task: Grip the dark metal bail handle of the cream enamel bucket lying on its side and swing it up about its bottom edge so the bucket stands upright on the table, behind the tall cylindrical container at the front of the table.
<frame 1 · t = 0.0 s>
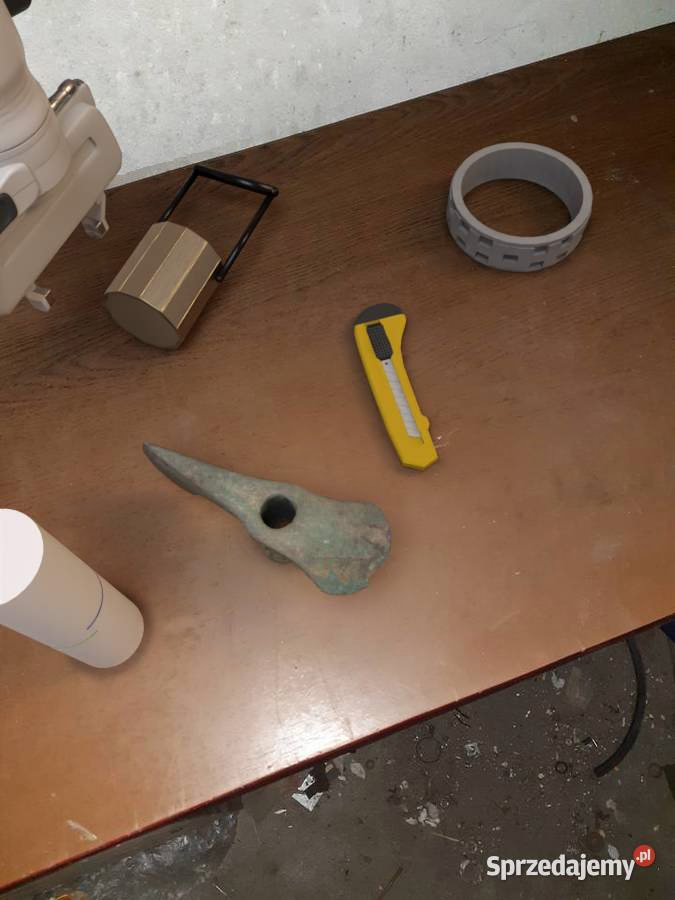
hand: (72, 267, 66), 19 cm above the table, tool pointing down, fingers open, 8 cm apart
cylindrical container: (109, 631, 70), on the table
axe head: (267, 534, 74), on the table
bucket: (141, 322, 80), point 5 cm above the table
utility knife: (399, 387, 82), on the table
ring: (513, 221, 93), on the table
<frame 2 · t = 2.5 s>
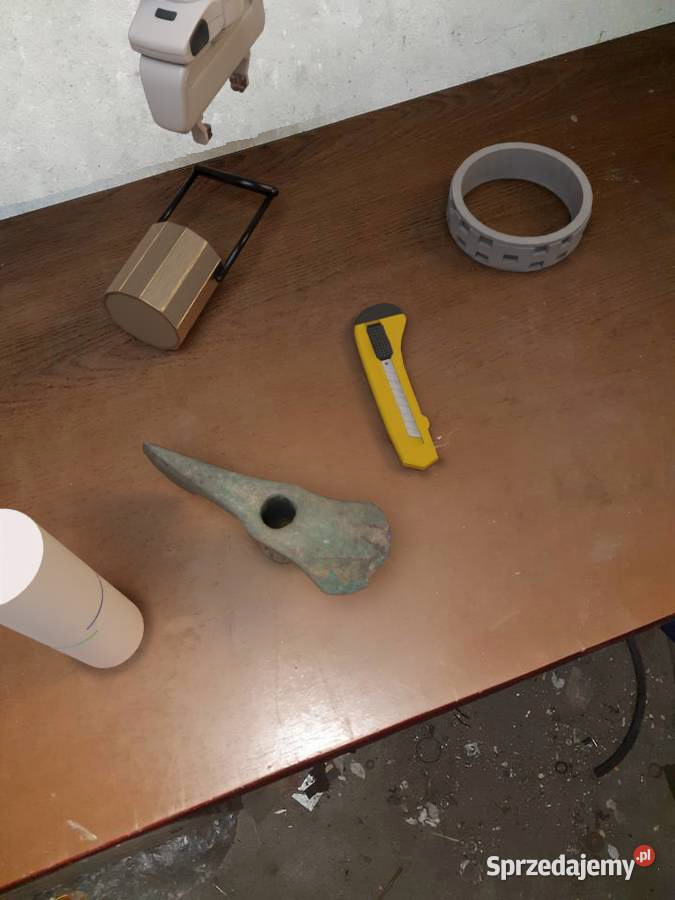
hand: (222, 113, 81), 15 cm above the table, tool pointing down, fingers open, 8 cm apart
nothing on the table moved.
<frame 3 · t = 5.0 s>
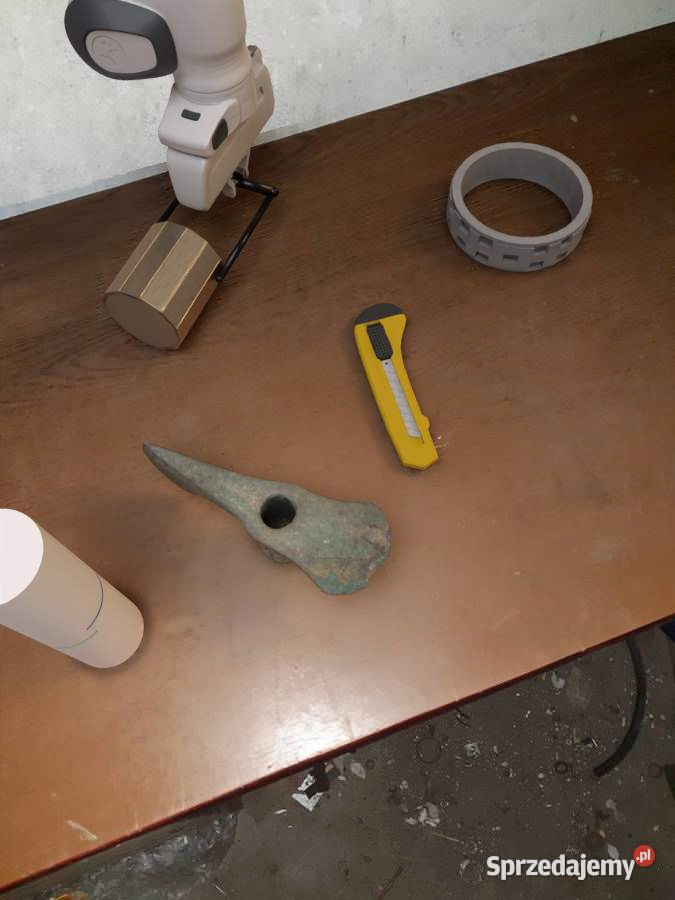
hand: (236, 186, 91), 4 cm above the table, tool pointing down, fingers closed on bucket
bucket: (141, 321, 80), point 5 cm above the table, touching gripper
everything else where it was.
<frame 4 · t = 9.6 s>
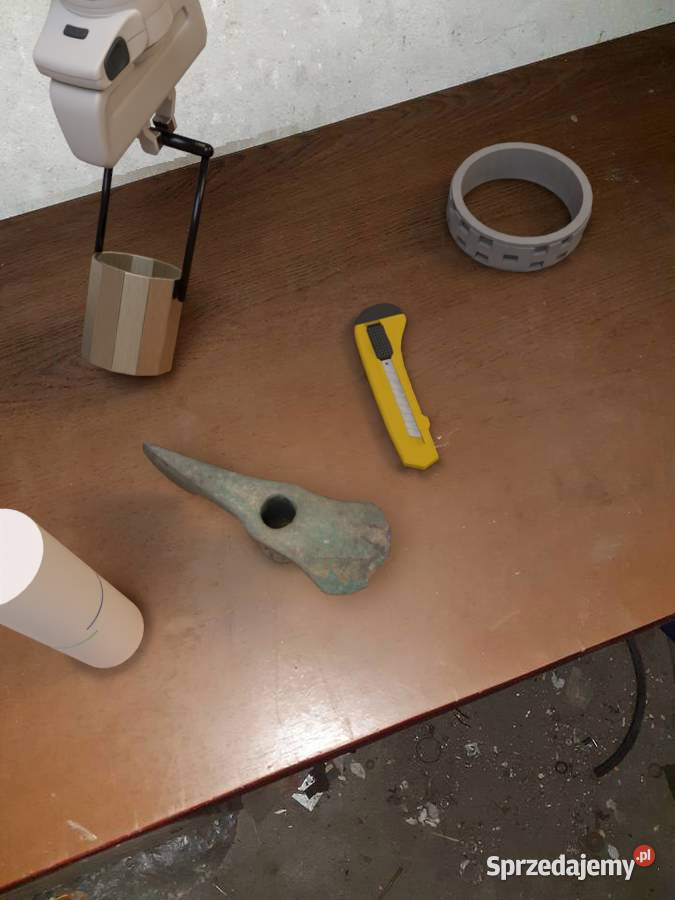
hand: (160, 140, 71), 21 cm above the table, tool pointing down, fingers closed on bucket
bucket: (127, 358, 80), point 3 cm above the table, tilted 47°, touching gripper
everything else where it was.
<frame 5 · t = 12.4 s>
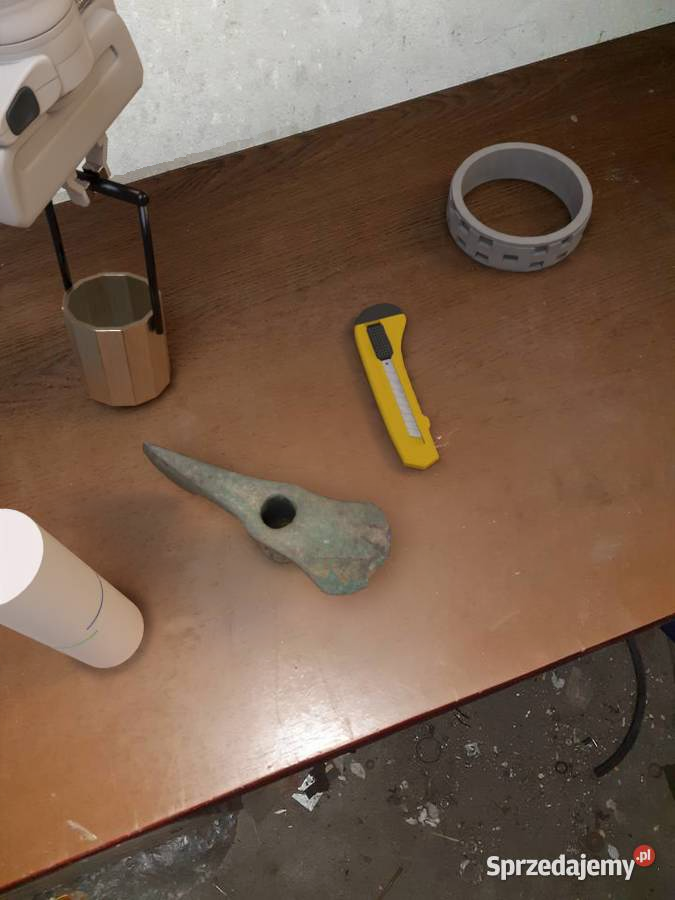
hand: (92, 190, 64), 24 cm above the table, tool pointing down, fingers closed on bucket
bucket: (126, 375, 82), point 1 cm above the table, tilted 74°, touching gripper
everything else where it was.
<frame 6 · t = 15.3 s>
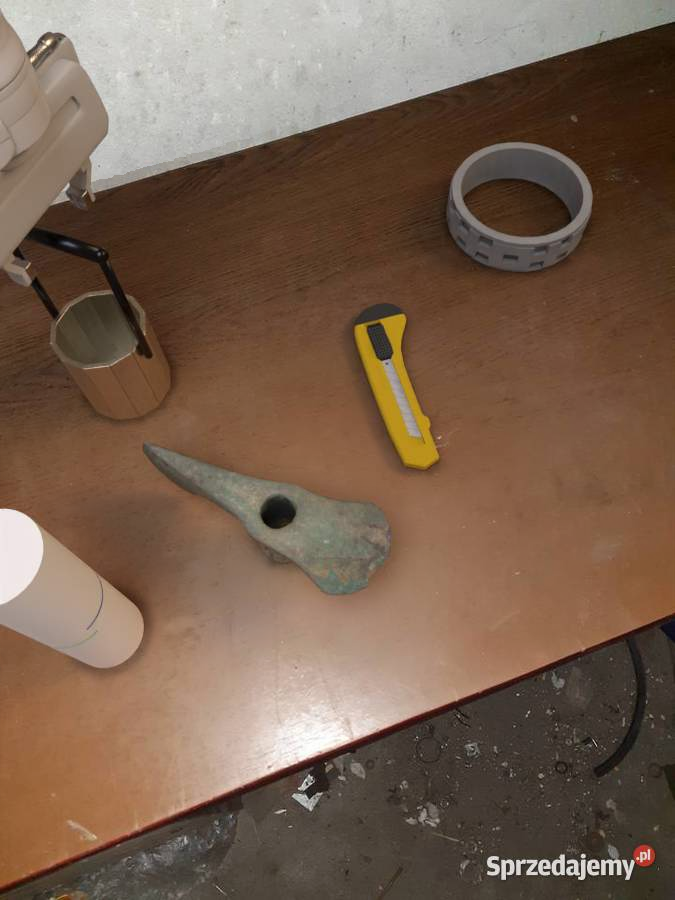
hand: (56, 240, 62), 23 cm above the table, tool pointing down, fingers open, 8 cm apart
bucket: (128, 382, 83), on the table, tilted 90°
everything else where it was.
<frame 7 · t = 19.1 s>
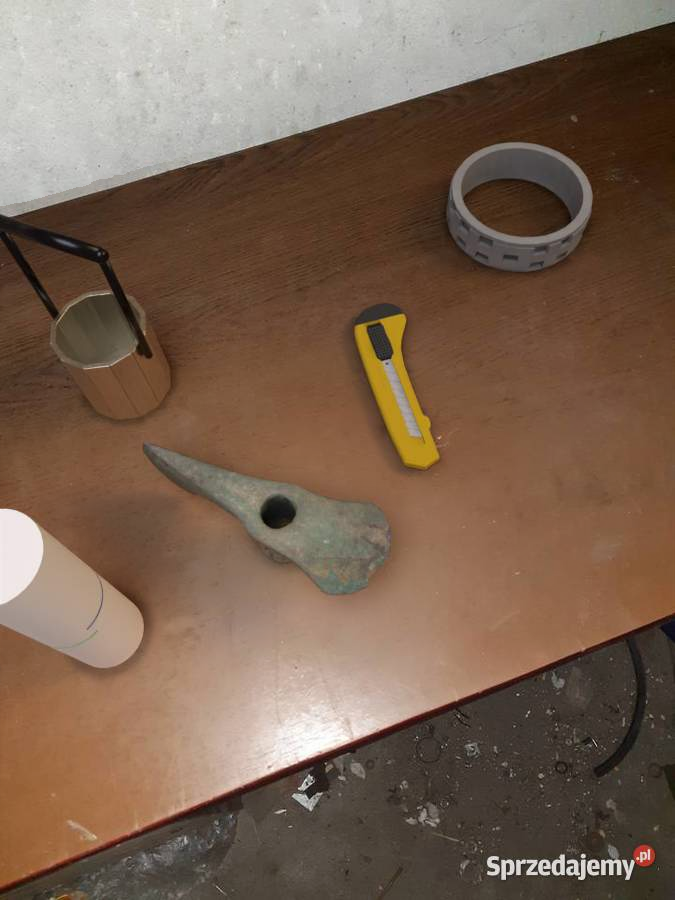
nothing on the table moved.
at the end: bucket tilted 90°; bucket on the table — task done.
